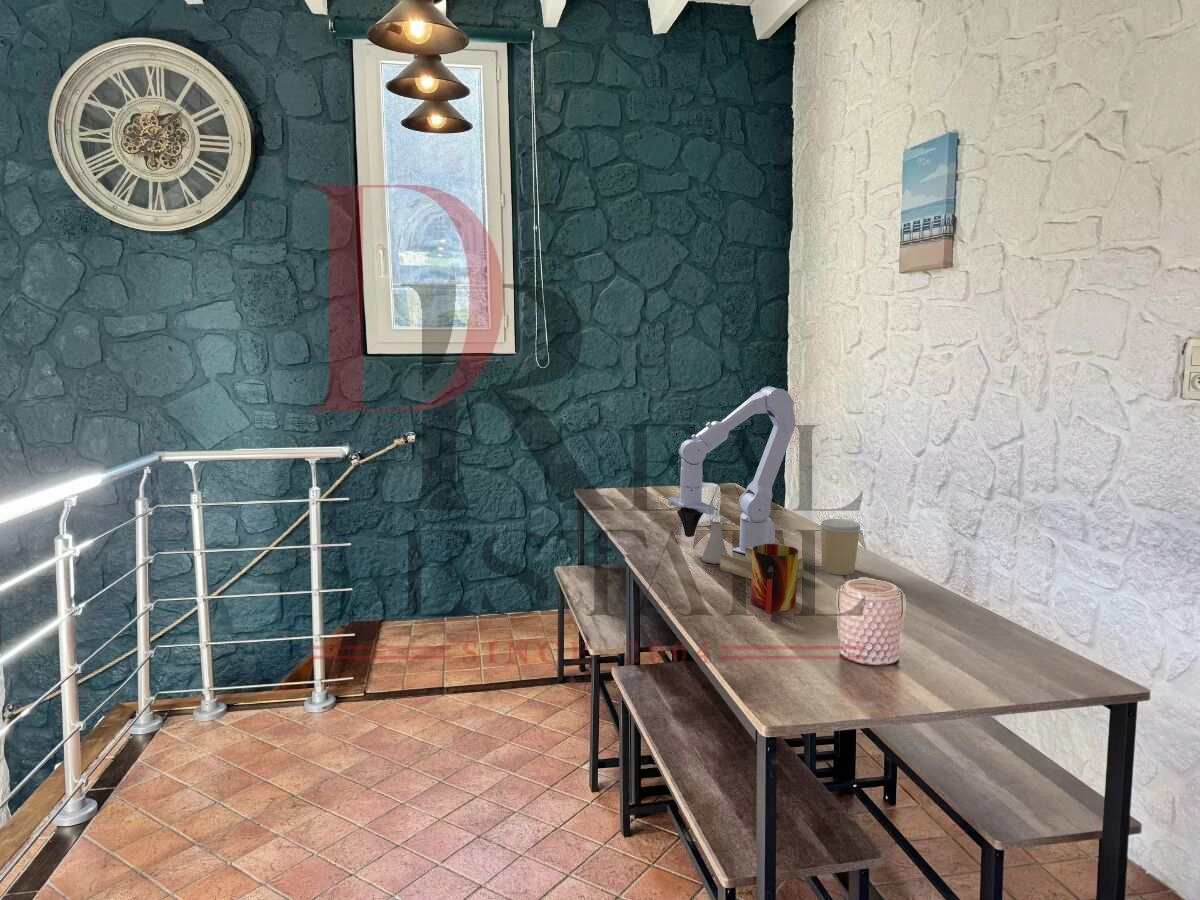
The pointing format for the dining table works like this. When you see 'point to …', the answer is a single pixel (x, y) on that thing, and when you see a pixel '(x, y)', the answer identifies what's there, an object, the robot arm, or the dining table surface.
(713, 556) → the flask
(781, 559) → the mug
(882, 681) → the dining table surface
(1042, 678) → the dining table surface
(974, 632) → the dining table surface
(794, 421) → the robot arm
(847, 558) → the coffee cup
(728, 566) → the lane
